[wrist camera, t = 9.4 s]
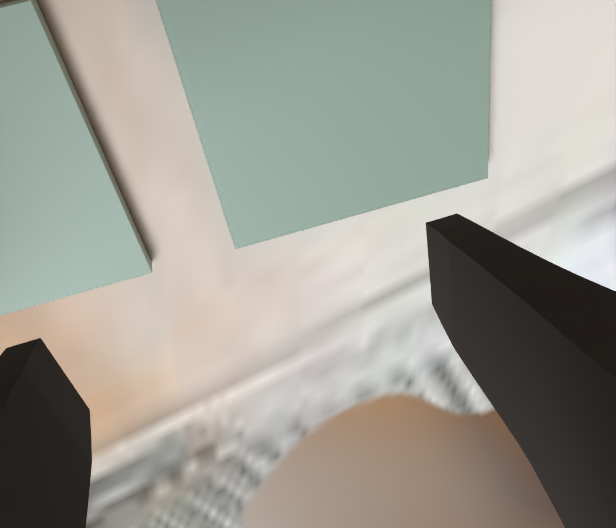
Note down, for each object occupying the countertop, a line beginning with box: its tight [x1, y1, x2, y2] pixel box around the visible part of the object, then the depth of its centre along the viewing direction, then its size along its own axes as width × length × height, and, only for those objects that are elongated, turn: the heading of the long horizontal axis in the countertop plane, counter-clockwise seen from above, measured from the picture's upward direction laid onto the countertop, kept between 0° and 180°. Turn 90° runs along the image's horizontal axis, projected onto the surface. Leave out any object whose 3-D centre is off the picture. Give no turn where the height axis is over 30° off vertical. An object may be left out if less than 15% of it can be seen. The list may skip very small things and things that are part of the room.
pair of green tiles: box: [0, 0, 491, 315], centre depth 18 cm, size 22×9×1 cm, turn 100°
